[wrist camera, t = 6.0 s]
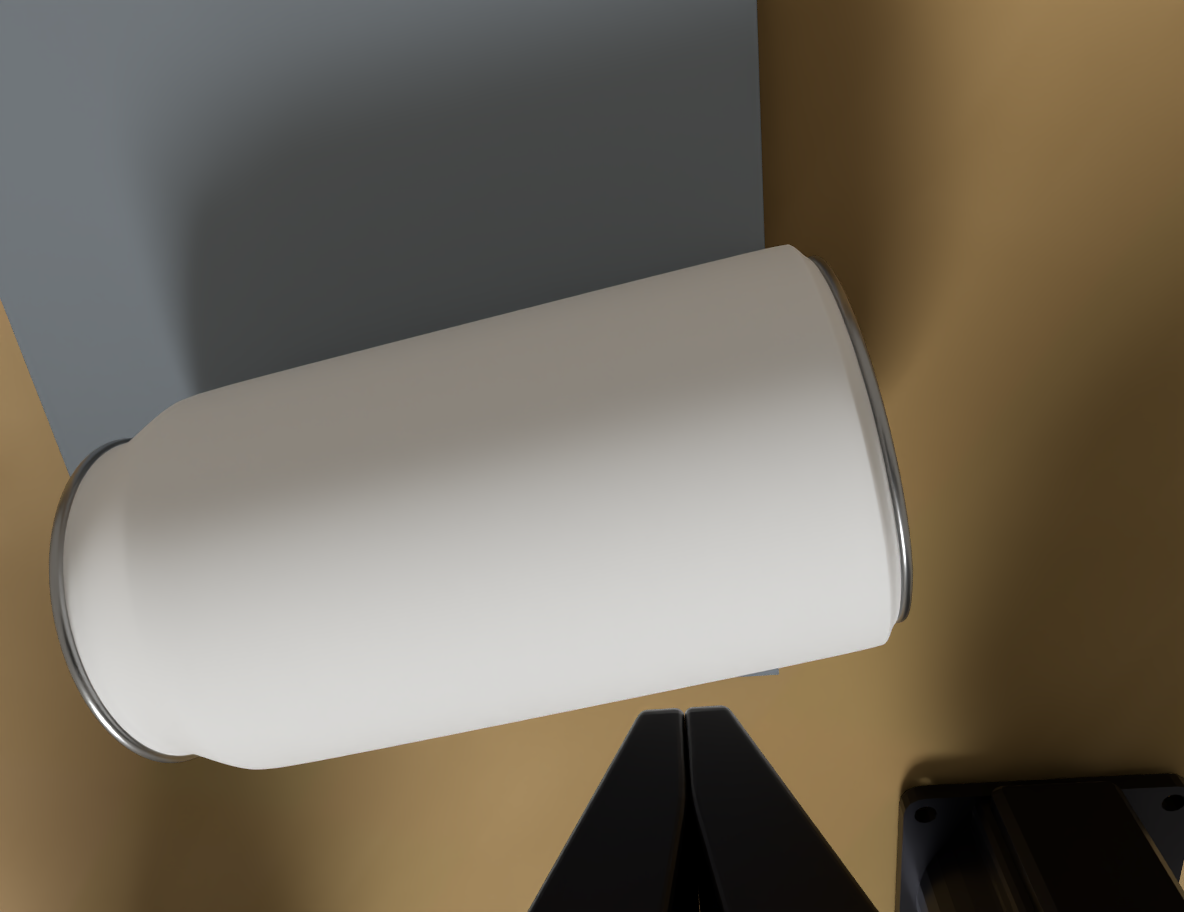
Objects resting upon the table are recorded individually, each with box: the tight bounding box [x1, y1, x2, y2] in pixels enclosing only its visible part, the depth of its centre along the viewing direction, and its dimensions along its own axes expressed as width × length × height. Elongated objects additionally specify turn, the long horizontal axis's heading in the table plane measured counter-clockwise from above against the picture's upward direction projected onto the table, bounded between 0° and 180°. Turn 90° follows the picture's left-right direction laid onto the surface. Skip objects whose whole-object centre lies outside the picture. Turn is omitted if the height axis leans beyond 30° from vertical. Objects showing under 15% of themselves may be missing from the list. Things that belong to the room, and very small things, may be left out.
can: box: [49, 244, 913, 770], centre depth 16 cm, size 6×6×12 cm
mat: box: [0, 0, 779, 677], centre depth 18 cm, size 16×14×1 cm
